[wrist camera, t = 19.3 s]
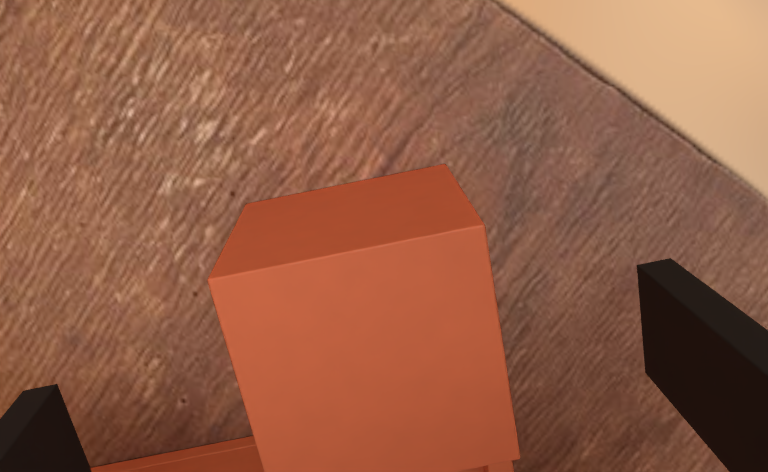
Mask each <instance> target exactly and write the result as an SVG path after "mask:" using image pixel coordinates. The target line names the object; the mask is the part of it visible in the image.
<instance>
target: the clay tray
mask: <svg viewBox="0 0 768 472" xmlns="http://www.w3.org/2000/svg"><path fill="white" fill-rule="evenodd" d="M90 469H91V471H92V472H264V470H263V466H262V463H261V460H260V456H259V453H258V450H257V446H256V443H255V440H254V436H250V437H245V438H239V439H234V440H229V441H224V442H219V443H214V444H209V445H204V446H199V447H194V448H189V449H184V450H179V451H174V452H169V453H164V454H158V455H153V456H148V457H143V458H138V459H133V460H128V461H123V462H118V463H113V464H108V465H103V466H98V467H93V468H90ZM457 472H514V468H513V462H512V461H507V462H502V463H497V464H492V465H487V466H482V467H477V468H472V469H467V470H462V471H457Z"/></svg>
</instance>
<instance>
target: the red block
mask: <svg viewBox="0 0 768 472" xmlns="http://www.w3.org/2000/svg"><path fill="white" fill-rule="evenodd" d="M207 282H208V285H209V288H210V292H211V295H212V298H213V302H214V305H215V308H216V312H217V315H218V319H219V322H220V325H221V329H222V332H223V335H224V339H225V342H226V345H227V349H228V352H229V355H230V359H231V362H232V366H233V369H234V372H235V376H236V379H237V382H238V386H239V389H240V392H241V396H242V399H243V403H244V406H245V409H246V413H247V416H248V419H249V423H250V426H251V429H252V433H253V436H254V440H255V443H256V446H257V450H258V453H259V456H260V460H261V463H262V466H263V470H264V472H457V471H462V470H467V469H472V468H477V467H482V466H487V465H492V464H497V463H502V462H507V461H513V460H518V459H520V451H519V444H518V438H517V431H516V425H515V418H514V411H513V405H512V398H511V392H510V385H509V379H508V372H507V366H506V359H505V353H504V346H503V340H502V333H501V327H500V320H499V314H498V307H497V301H496V294H495V287H494V281H493V274H492V268H491V261H490V255H489V248H488V242H487V235H486V229H485V225H484V223H483V222H482V220H481V219H480V217H479V215H478V214H477V212H476V211H475V209H474V208H473V206H472V205H471V203H470V201H469V200H468V198H467V197H466V195H465V194H464V192H463V190H462V189H461V187H460V186H459V184H458V183H457V181H456V180H455V178H454V176H453V175H452V173H451V172H450V170H449V169H448V167H447V166H446V164H442V165H437V166H432V167H427V168H422V169H417V170H412V171H407V172H402V173H397V174H392V175H387V176H382V177H377V178H372V179H367V180H362V181H357V182H352V183H347V184H343V185H338V186H333V187H328V188H323V189H318V190H313V191H308V192H303V193H298V194H293V195H288V196H283V197H278V198H273V199H268V200H263V201H258V202H253V203H248V204H246V205H245V207H244V209H243V211H242V213H241V215H240V217H239V219H238V221H237V223H236V225H235V227H234V229H233V230H232V232H231V234H230V236H229V238H228V240H227V242H226V244H225V246H224V248H223V250H222V252H221V254H220V256H219V258H218V260H217V262H216V264H215V266H214V268H213V270H212V272H211V274H210V276H209V278H208V280H207Z"/></svg>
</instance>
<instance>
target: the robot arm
mask: <svg viewBox="0 0 768 472" xmlns="http://www.w3.org/2000/svg"><path fill="white" fill-rule="evenodd" d="M637 273H638V286H639V298H640V311H641V323H642V336H643V348H644V361H645V373H646V374H647V375H648V376H649V377H650V379H651V380H652V381H653V382H654V383H655V385H656V386H657V387H658V388H659V389H660V390H661V392H662V393H663V394H664V395H665V396H666V397H667V399H668V400H669V401H670V402H671V403H672V404H673V406H674V407H675V408H676V409H677V410H678V412H679V413H680V414H681V415H682V416H683V417H684V419H685V420H686V421H687V422H688V423H689V424H690V426H691V427H692V428H693V429H694V430H695V431H696V433H697V434H698V435H699V436H700V437H701V439H702V440H703V441H704V442H705V443H706V444H707V446H708V447H709V448H710V449H711V450H712V451H713V453H714V454H715V455H716V456H717V457H718V458H719V460H720V461H721V462H722V463H723V464H724V466H725V467H726V468H727V469H728V470H729V471H730V472H768V330H766V329H765V328H764V327H762V326H761V325H760V324H758V323H757V322H756V321H754V320H753V319H752V318H750V317H749V316H748V315H746V314H745V313H744V312H742V311H741V310H739V309H738V308H737V307H735V306H734V305H733V304H731V303H730V302H729V301H727V300H726V299H725V298H723V297H722V296H721V295H719V294H718V293H717V292H715V291H714V290H713V289H711V288H710V287H709V286H707V285H706V284H705V283H703V282H702V281H700V280H699V279H698V278H696V277H695V276H694V275H692V274H691V273H690V272H688V271H687V270H686V269H684V268H683V267H682V266H680V265H679V264H678V263H676V262H675V261H674V260H672V259H671V258H670V259H665V260H660V261H655V262H650V263H645V264H640V265H637ZM0 472H92V471H91V469H90V466H89V464H88V461H87V459H86V456H85V453H84V451H83V448H82V446H81V443H80V441H79V438H78V436H77V433H76V431H75V428H74V426H73V423H72V421H71V418H70V415H69V413H68V410H67V408H66V405H65V403H64V400H63V398H62V395H61V393H60V390H59V388H58V385H57V384H55V385H50V386H45V387H40V388H35V389H30V390H26V391H23V392H22V393H21V394H20V395H19V397H18V398H17V399H16V400H15V402H14V403H13V404H12V405H11V406H10V408H9V409H8V410H7V411H6V413H5V414H4V415H3V416H2V417H1V419H0Z"/></svg>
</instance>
